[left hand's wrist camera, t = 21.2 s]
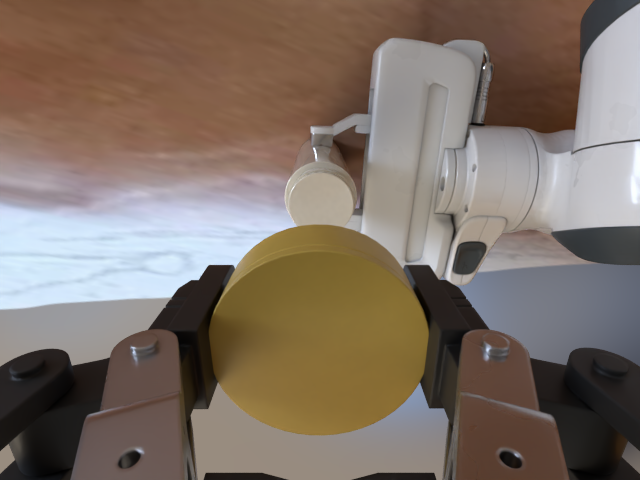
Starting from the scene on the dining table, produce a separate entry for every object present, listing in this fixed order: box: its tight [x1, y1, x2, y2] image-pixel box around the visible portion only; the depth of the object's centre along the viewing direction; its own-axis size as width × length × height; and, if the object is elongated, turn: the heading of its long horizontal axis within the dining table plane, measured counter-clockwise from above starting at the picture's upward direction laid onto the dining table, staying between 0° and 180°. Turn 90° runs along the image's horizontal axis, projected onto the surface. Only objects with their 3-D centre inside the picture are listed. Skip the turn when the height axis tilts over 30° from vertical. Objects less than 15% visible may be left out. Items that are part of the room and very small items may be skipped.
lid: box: [209, 224, 429, 435], centre depth 10 cm, size 5×5×2 cm
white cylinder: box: [285, 139, 357, 227], centre depth 29 cm, size 4×4×17 cm
